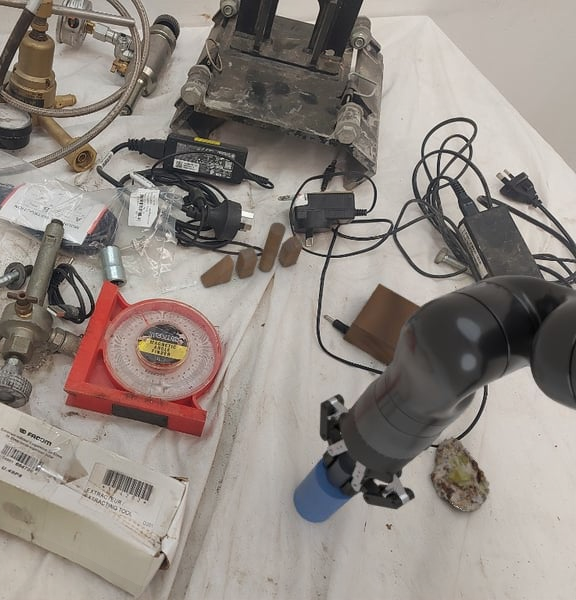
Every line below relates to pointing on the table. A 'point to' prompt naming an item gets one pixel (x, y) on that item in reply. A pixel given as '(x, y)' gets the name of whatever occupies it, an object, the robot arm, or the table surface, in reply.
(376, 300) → the walnut block
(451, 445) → the mineral rock
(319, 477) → the bottle
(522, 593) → the table surface
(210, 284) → the wood blocks
